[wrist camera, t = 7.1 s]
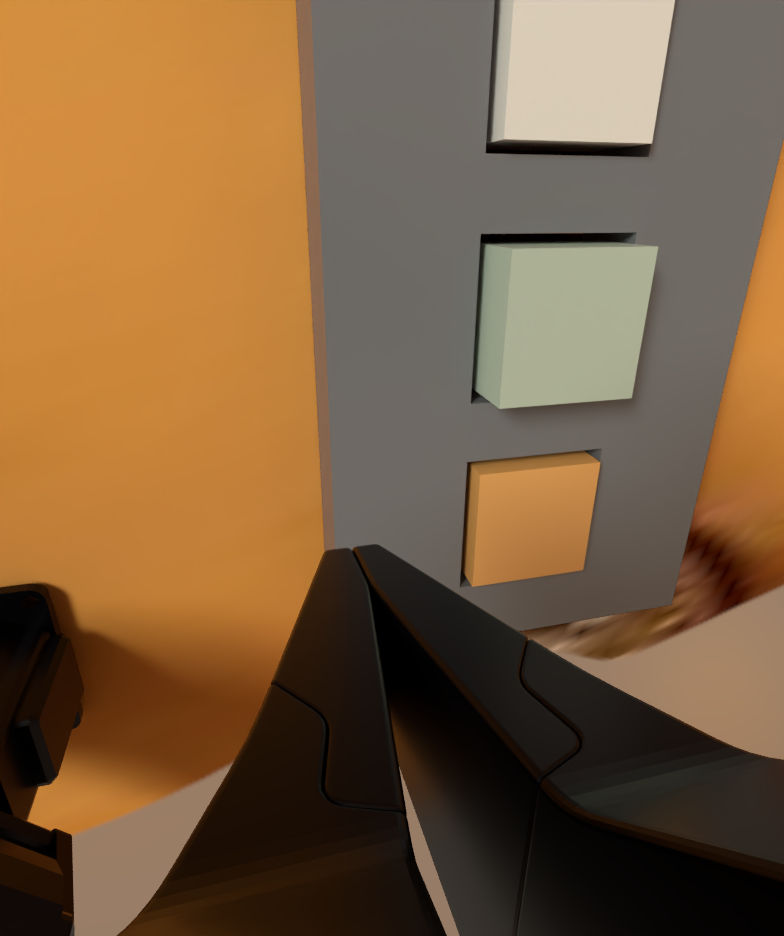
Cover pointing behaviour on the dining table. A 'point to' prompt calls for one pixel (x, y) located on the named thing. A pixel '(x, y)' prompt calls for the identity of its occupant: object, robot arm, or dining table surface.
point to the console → (456, 282)
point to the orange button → (527, 516)
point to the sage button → (560, 320)
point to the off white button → (576, 73)
